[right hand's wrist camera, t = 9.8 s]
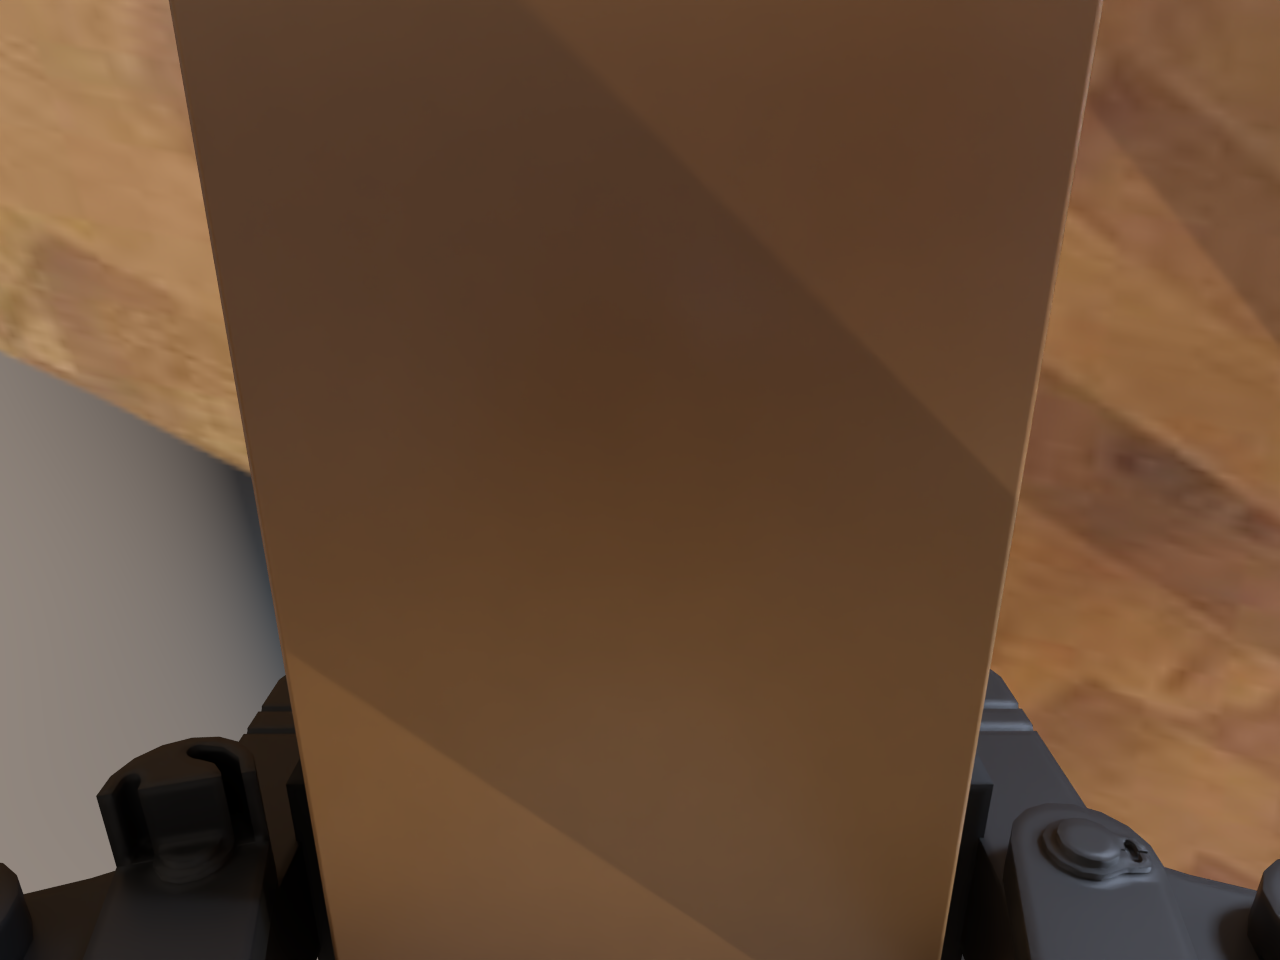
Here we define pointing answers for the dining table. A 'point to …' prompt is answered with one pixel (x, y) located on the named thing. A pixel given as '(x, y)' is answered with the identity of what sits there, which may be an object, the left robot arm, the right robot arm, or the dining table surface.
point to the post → (637, 445)
